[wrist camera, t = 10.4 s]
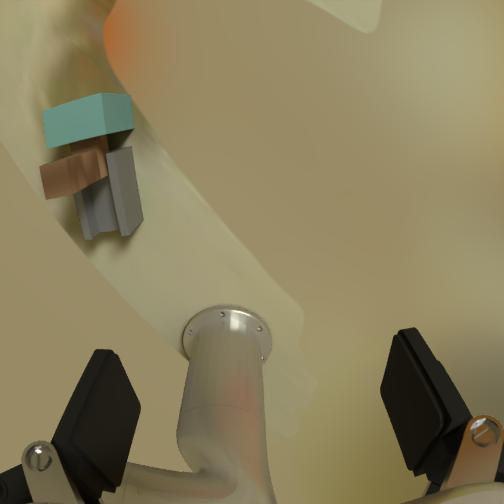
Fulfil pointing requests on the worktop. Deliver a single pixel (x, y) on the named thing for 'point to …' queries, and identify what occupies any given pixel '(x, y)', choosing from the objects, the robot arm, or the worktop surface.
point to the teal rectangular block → (87, 118)
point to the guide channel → (111, 198)
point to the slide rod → (76, 168)
